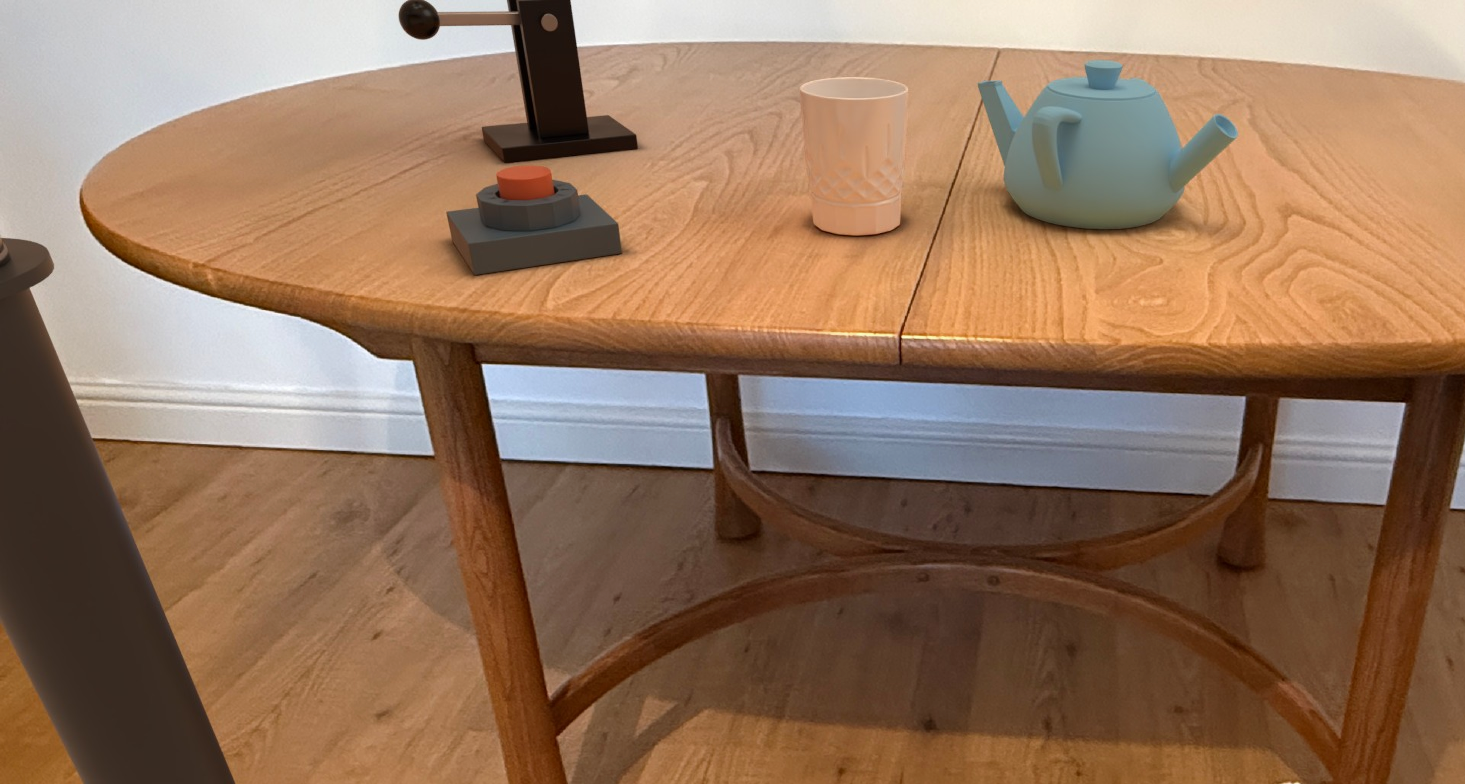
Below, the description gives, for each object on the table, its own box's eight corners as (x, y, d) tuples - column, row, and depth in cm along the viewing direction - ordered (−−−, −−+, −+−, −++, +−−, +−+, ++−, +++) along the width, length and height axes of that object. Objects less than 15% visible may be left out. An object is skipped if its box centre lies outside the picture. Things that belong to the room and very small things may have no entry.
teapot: (1042, 248, 84) (1053, 88, 78) (971, 186, 98) (975, 46, 92) (1229, 234, 88) (1253, 81, 82) (1135, 176, 102) (1149, 42, 96)
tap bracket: (504, 163, 101) (476, 5, 94) (483, 140, 107) (455, -8, 101) (638, 148, 106) (620, -1, 99) (610, 128, 113) (592, -14, 106)
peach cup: (835, 203, 92) (831, 73, 87) (924, 216, 90) (925, 83, 85) (786, 230, 86) (779, 91, 81) (881, 244, 84) (879, 103, 78)
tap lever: (405, 42, 95) (398, 1, 94) (399, 37, 97) (392, -4, 96) (563, 39, 101) (559, 0, 100) (554, 34, 103) (550, -5, 102)
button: (507, 207, 77) (502, 181, 76) (495, 193, 80) (491, 168, 79) (560, 200, 79) (556, 175, 78) (547, 187, 82) (543, 162, 81)
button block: (474, 275, 76) (462, 216, 74) (452, 241, 82) (440, 185, 80) (622, 253, 81) (615, 197, 79) (591, 222, 86) (583, 169, 84)
